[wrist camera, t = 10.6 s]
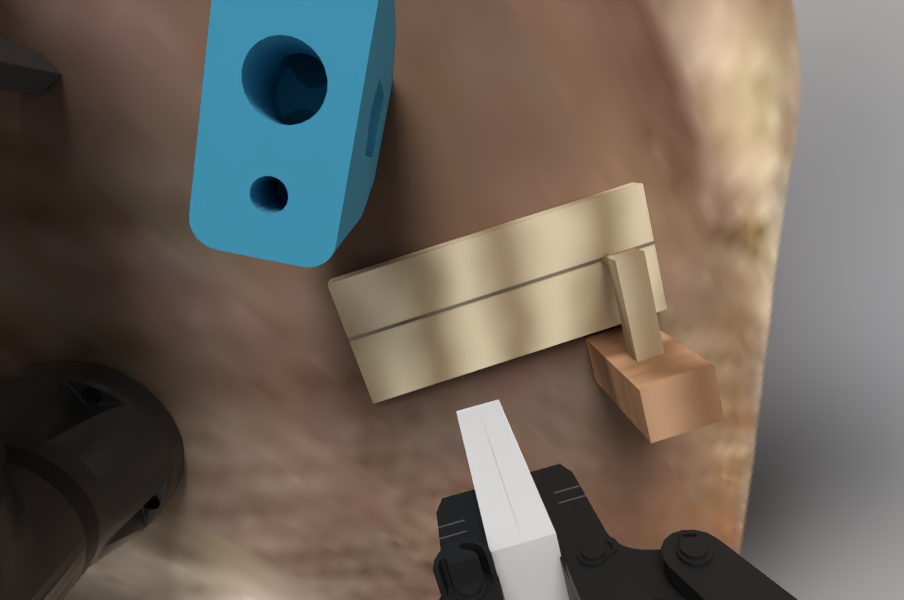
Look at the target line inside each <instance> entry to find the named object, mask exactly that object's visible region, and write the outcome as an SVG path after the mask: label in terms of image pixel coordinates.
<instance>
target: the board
mask: <svg viewBox="0 0 904 600" xmlns="http://www.w3.org/2000/svg"><path fill="white" fill-rule="evenodd" d="M654 244H655V243H654V240H653V235H652V229H651V224H650V219H649V214H648V209H647V204H646V198H645V193H644V188H643V184H642V183H629V184H626V185H623V186H620V187H617V188H614V189H611V190H607V191H604V192H601V193H598V194H595V195H592V196H589V197H586V198H582V199H579V200H576V201H573V202H570V203H567V204H564V205H560V206H557V207H554V208H551V209H548V210H545V211H542V212H539V213H535V214H532V215H529V216H526V217H523V218H520V219H517V220H514V221H510V222H507V223H504V224H501V225H498V226H495V227H492V228H488V229H485V230H482V231H479V232H476V233H473V234H470V235H467V236H463V237H460V238H457V239H454V240H451V241H448V242H445V243H442V244H438V245H435V246H432V247H429V248H426V249H423V250H420V251H416V252H413V253H410V254H407V255H404V256H401V257H398V258H395V259H391V260H388V261H385V262H382V263H379V264H376V265H373V266H369V267H366V268H363V269H360V270H357V271H354V272H351V273H348V274H344V275H341V276H338V277H335V278H332V279H330V281H329V282H328V284H327V285H328V288H329V291H330V293H331V296H332V298H333V301H334V303H335V306H336V309H337V311H338V314H339V316H340V319H341V322H342V324H343V327H344V329H345V332H346V335H347V337H348V340H349V342H350V345H351V347H352V350H353V353H354V355H355V358H356V360H357V363H358V366H359V368H360V371H361V373H362V376H363V379H364V381H365V384H366V386H367V389H368V391H369V394H370V397H371V399H372V402H373V404H374V403H377V402H381V401H384V400H387V399H390V398H393V397H396V396H399V395H402V394H405V393H408V392H412V391H415V390H418V389H421V388H424V387H427V386H430V385H433V384H436V383H439V382H443V381H446V380H449V379H452V378H455V377H458V376H461V375H464V374H467V373H470V372H474V371H477V370H480V369H483V368H486V367H489V366H492V365H495V364H498V363H501V362H505V361H508V360H511V359H514V358H517V357H520V356H523V355H526V354H529V353H533V352H536V351H539V350H542V349H545V348H548V347H551V346H554V345H557V344H560V343H564V342H567V341H570V340H573V339H576V338H579V337H582V336H585V335H588V334H591V333H595V332H598V331H601V330H604V329H607V328H610V327H613V326H616V325H619V324H621V319H620V315H619V310H618V306H617V301H616V297H615V292H614V288H613V283H612V279H611V274H610V270H609V265H607V264H605V263H603V261H602V257H603V255H604V254H606V253H609V254H612V255H614V254H617V253H620V252H623V251H626V250H629V249H632V248H636V249H639V250H642V251H644V252H645V257H646V262H647V267H648V272H649V277H650V282H651V287H652V292H653V297H654V302H655V307H656V312H660V311H663V310H666V309H667V307H666V302H665V297H664V291H663V286H662V281H661V276H660V271H659V266H658V260H657V255H656V250H655V245H654Z"/></svg>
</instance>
